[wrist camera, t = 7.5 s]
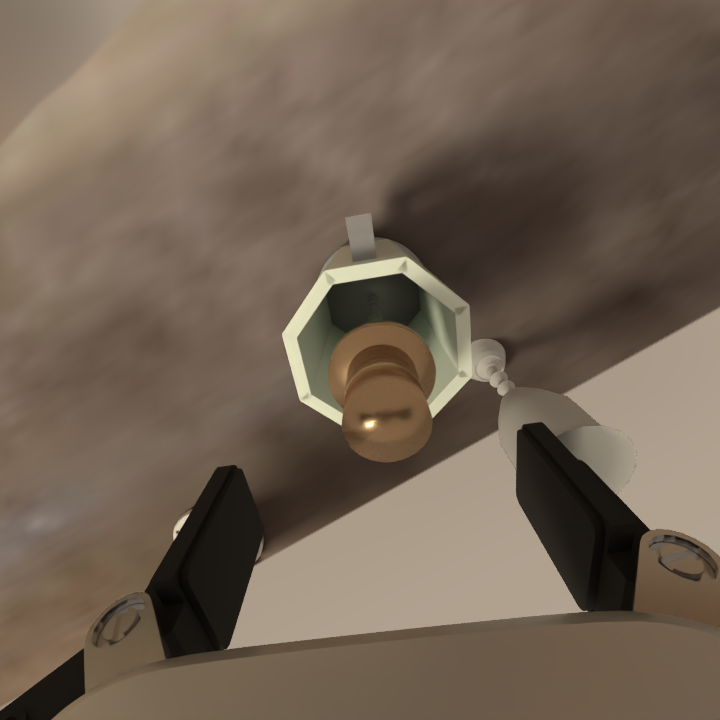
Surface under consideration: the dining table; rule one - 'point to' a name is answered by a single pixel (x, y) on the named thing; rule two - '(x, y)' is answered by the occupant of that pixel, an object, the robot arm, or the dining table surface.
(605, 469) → the chalice
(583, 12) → the dining table surface
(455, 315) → the press carafe
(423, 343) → the plunger
